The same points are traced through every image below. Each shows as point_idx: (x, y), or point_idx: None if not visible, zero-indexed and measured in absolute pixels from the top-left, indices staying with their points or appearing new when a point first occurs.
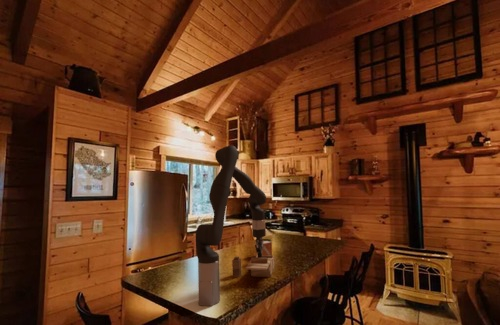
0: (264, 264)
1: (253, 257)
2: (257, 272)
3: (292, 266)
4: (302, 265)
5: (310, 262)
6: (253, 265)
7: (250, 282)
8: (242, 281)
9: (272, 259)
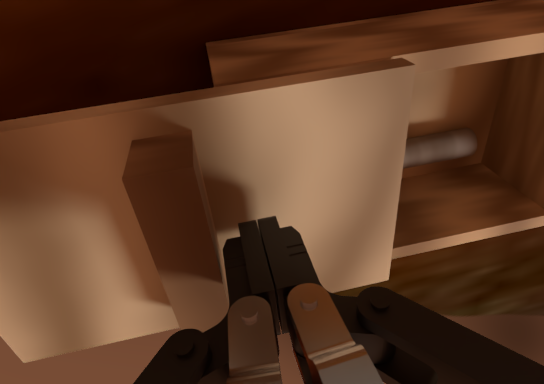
0: (136, 306)
1: (190, 200)
2: None
3: (480, 259)
4: (491, 296)
5: (538, 311)
6: (22, 223)
7: (31, 106)
8: (5, 4)
9: (424, 251)
